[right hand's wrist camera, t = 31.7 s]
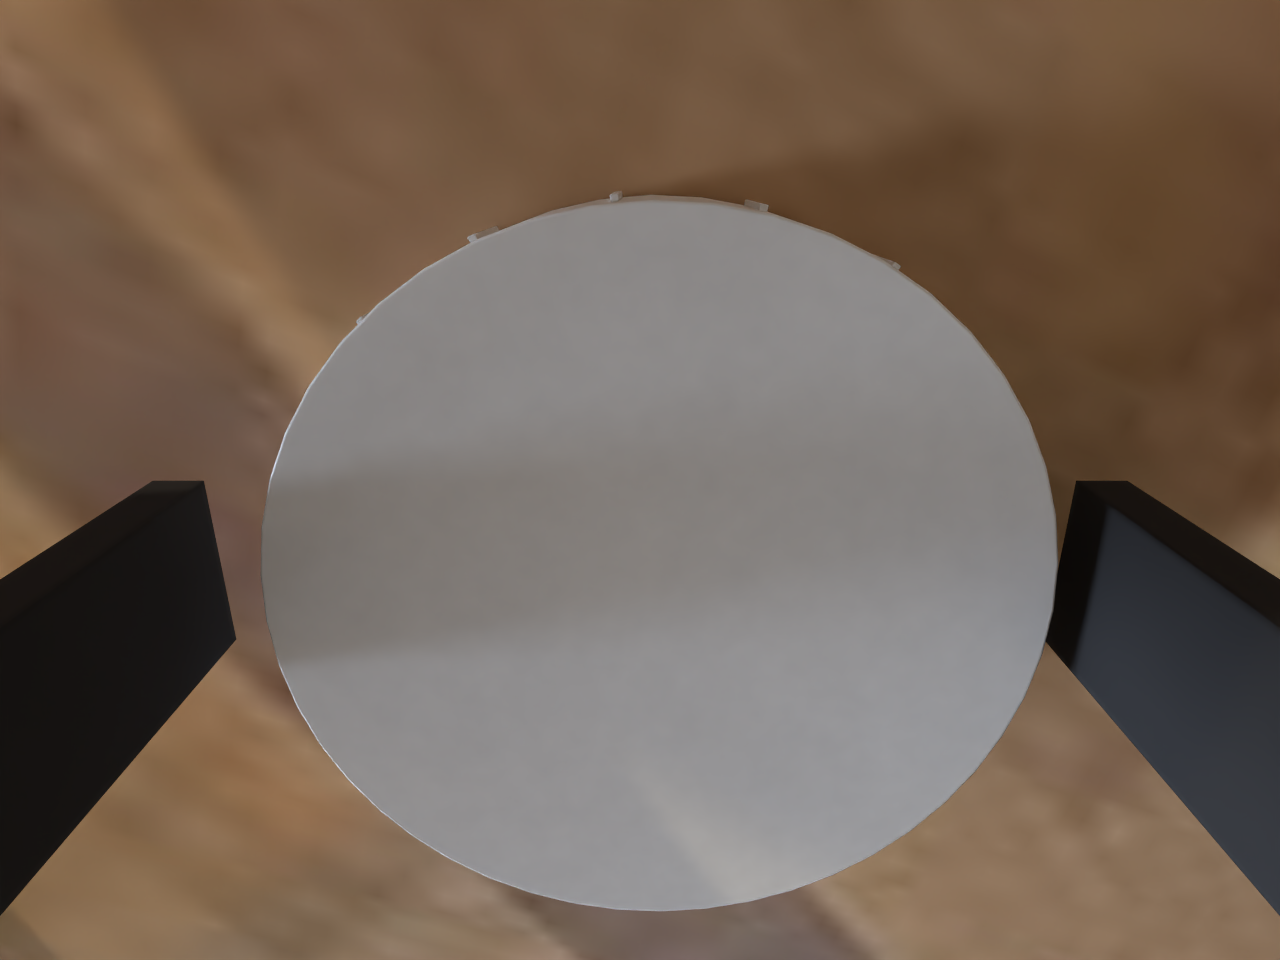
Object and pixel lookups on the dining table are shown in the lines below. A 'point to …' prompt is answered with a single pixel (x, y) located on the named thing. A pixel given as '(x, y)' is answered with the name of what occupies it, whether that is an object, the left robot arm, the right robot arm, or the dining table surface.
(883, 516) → the lid
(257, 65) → the dining table surface
